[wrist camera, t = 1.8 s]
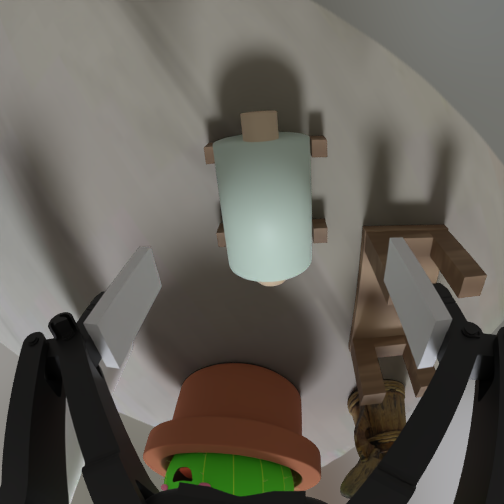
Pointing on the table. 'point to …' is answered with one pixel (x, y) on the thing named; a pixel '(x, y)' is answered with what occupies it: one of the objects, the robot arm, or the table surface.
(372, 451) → the wooden mug
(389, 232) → the roll holder
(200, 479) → the potted cactus
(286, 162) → the paper roll
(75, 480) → the white tapered bar
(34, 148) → the table surface
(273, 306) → the table surface
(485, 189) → the table surface
